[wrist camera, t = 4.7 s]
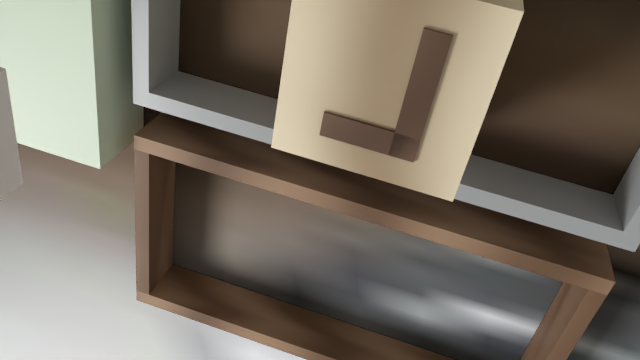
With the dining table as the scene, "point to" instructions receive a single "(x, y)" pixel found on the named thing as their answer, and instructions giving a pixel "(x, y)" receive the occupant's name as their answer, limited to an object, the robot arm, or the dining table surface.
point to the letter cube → (392, 85)
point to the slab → (71, 76)
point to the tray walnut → (357, 201)
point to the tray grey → (478, 178)
